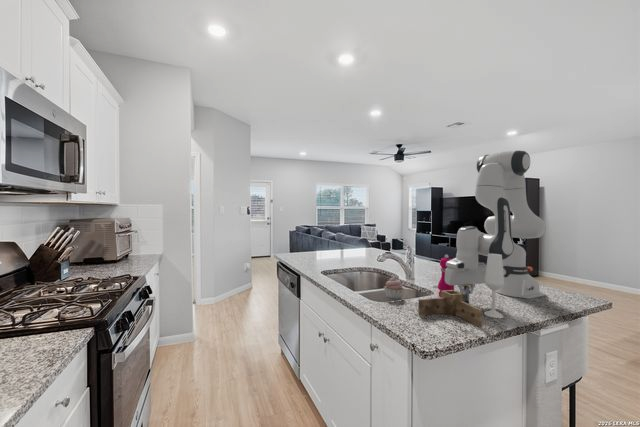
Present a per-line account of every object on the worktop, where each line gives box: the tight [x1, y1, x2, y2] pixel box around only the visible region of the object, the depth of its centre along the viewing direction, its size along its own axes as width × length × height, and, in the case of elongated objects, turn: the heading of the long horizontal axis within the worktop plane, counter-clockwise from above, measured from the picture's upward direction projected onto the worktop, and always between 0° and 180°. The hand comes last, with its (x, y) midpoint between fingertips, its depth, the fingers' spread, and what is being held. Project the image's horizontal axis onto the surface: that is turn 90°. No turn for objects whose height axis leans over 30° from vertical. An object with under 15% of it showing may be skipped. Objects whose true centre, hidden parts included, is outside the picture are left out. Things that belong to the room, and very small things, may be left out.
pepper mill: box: [437, 254, 455, 298], centre depth 140 cm, size 7×7×20 cm
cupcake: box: [383, 276, 405, 301], centre depth 136 cm, size 9×9×10 cm
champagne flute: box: [483, 254, 504, 319], centre depth 116 cm, size 7×7×24 cm
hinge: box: [417, 289, 483, 327], centre depth 111 cm, size 18×18×8 cm
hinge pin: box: [463, 284, 470, 304], centre depth 130 cm, size 3×3×8 cm
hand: (466, 293), depth 130 cm, fingers closed on hinge pin, 2 cm apart
